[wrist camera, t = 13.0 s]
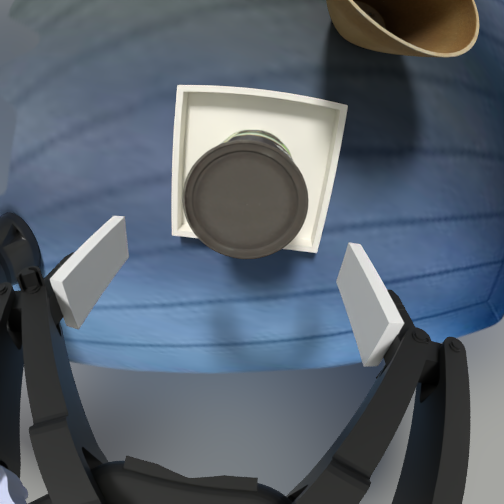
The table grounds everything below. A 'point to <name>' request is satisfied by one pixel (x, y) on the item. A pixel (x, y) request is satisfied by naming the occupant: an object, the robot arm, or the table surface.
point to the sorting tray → (269, 119)
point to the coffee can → (246, 196)
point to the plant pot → (408, 25)
